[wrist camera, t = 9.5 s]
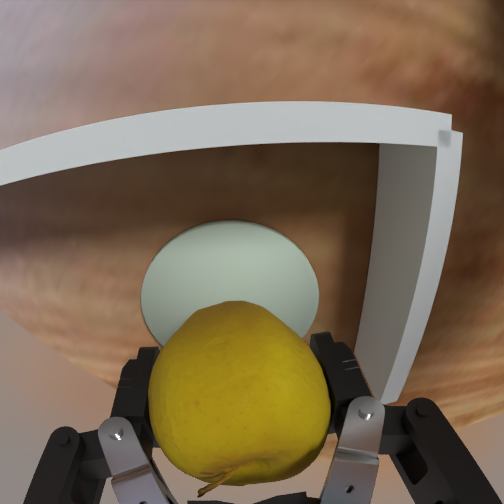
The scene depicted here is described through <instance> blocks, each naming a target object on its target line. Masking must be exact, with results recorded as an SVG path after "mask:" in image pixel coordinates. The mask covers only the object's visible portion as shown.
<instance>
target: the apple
mask: <svg viewBox="0 0 504 504" xmlns="http://www.w3.org/2000/svg"><path fill="white" fill-rule="evenodd" d="M148 400H149V415H150V423H151V427H152V430H153V433H154V436H155V439H156V441H157V443H158V444H159V446H160V448H161V449H162V451H163V453H164V454H165V456H166V457H167V458H168V460H169V461H170V462H171V463H172V464H173V465H174V466H176V467H177V468H178V469H179V470H181V471H183V472H184V473H185V474H188V475H190V476H192V477H195V478H197V479H199V480H202V481H204V482H208V483H212V484H208V485H207V486H205V487H204V488H201V489H200V490H199V491H198V493H199V495H198V497H201V496H203V495H204V494H205V493H206V492H208V491H210V490H212V489H214V488H215V487H217V486H219V485H231V486H244V485H247V484H256V483H266V482H275V481H280V480H285V479H288V478H291V477H293V476H295V475H297V474H299V473H301V472H302V471H303V470H304V469H306V468H307V467H308V466H310V464H311V463H312V462H313V461H314V460H315V459H316V458H317V456H318V455H319V453H320V451H321V449H322V448H323V446H324V443H325V441H326V438H327V435H328V430H329V425H330V416H331V401H330V398H329V394H328V388H327V384H326V380H325V377H324V375H323V371H322V368H321V366H320V364H319V363H318V361H317V359H316V357H315V356H314V354H313V352H312V351H311V349H310V347H309V346H308V345H307V344H306V343H305V341H304V340H303V339H302V338H301V337H300V336H299V335H298V334H296V333H295V332H294V331H293V330H292V329H291V328H290V327H288V326H287V325H286V324H285V323H284V322H283V321H281V320H280V319H279V318H277V317H276V316H275V315H274V314H272V313H271V312H270V311H268V310H267V309H265V308H264V307H262V306H260V305H257V304H254V303H250V302H247V301H225V302H222V303H219V304H216V305H212V306H209V307H206V308H202V309H199V310H197V311H196V312H194V313H193V314H192V315H191V316H190V317H189V318H188V319H187V320H186V321H185V322H184V323H183V324H182V326H181V327H180V328H179V329H178V330H177V331H176V332H175V333H174V334H173V335H172V336H171V338H170V339H169V340H168V341H167V343H166V344H165V346H164V347H163V349H162V350H161V352H160V353H159V355H158V357H157V359H156V361H155V363H154V366H153V369H152V372H151V376H150V381H149V388H148Z"/></svg>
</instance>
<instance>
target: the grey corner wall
mask: <svg viewBox="0 0 504 504" xmlns="http://www.w3.org/2000/svg"><path fill="white" fill-rule="evenodd" d="M451 123H452V115H451V114H446V113H440V112H433V111H427V110H420V109H412V108H404V107H396V106H386V105H375V104H362V103H345V102H317V101H278V102H250V103H232V104H219V105H208V106H198V107H188V108H180V109H172V110H165V111H158V112H151V113H145V114H139V115H133V116H127V117H122V118H117V119H112V120H107V121H102V122H97V123H93V124H88V125H84V126H80V127H76V128H71V129H68V130H64V131H60V132H56V133H52V134H49V135H45V136H42V137H38V138H35V139H32V140H28V141H25V142H22V143H19V144H16V145H13V146H10V147H7V148H4V149H1V150H0V185H4V184H7V183H11V182H15V181H19V180H22V179H26V178H30V177H34V176H38V175H43V174H47V173H51V172H56V171H60V170H65V169H69V168H74V167H79V166H84V165H89V164H95V163H100V162H106V161H111V160H117V159H123V158H130V157H136V156H143V155H150V154H157V153H165V152H173V151H181V150H190V149H200V148H211V147H222V146H235V145H250V144H268V143H294V142H366V143H380V145H379V168H378V184H377V198H376V209H375V220H374V230H373V239H372V247H371V255H370V263H369V270H368V277H367V283H366V290H365V296H364V302H363V308H362V314H361V319H360V324H359V330H358V335H357V340H356V345H355V349H354V354H355V356H356V358H357V360H358V362H359V365H360V367H361V369H362V371H363V373H364V375H365V378H366V380H367V382H368V384H369V386H370V389H371V391H372V393H373V395H374V397H375V398H376V399H378V400H379V401H380V402H381V403H382V404H388V403H391V402H395V401H397V400H398V398H399V395H400V393H401V391H402V389H403V386H404V384H405V381H406V379H407V376H408V374H409V371H410V369H411V366H412V364H413V361H414V359H415V356H416V353H417V350H418V348H419V345H420V342H421V339H422V336H423V333H424V330H425V327H426V324H427V321H428V318H429V315H430V312H431V308H432V305H433V302H434V298H435V295H436V291H437V287H438V284H439V280H440V276H441V272H442V268H443V264H444V260H445V255H446V251H447V246H448V241H449V237H450V232H451V226H452V221H453V215H454V209H455V203H456V196H457V189H458V181H459V173H460V163H461V152H462V139H463V133H461V132H457V131H453V130H451Z"/></svg>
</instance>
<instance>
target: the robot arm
mask: <svg viewBox="0 0 504 504" xmlns="http://www.w3.org/2000/svg"><path fill="white" fill-rule="evenodd" d="M310 349H311V351H312V352H313V354H314V356H315V357H316V359H317V361H318V363H319V364H320V366H321V368H322V371H323V375H324V377H325V380H326V384H327V388H328V394H329V398H330V401H331V416H330V425H329V430H328V434H331V433H336V434H337V438H338V442H337V445H336V448H335V452H334V455H333V458H332V462H331V465H330V468H329V471H328V475H327V477H326V481H325V483H324V486H323V489H322V491H321V494H320V497H319V498H312V497H307V496H306V492H299V493H293V494H286V495H279V496H275V497H272V498H269V499H266V500H263V501H260V502H257V503H254V504H370V502H371V498H372V494H373V490H374V486H375V481H376V477H377V472H378V467H379V458H378V454H389V456H390V457H391V460H392V461H393V463H394V465H395V467H396V469H397V471H398V472H399V474H400V476H401V478H402V480H403V482H404V484H405V485H406V487H407V489H408V491H409V493H410V495H411V497H412V498H413V500H414V502H415V504H502V502H501V500H500V499H499V497H498V495H497V494H496V493H495V491H494V489H493V488H492V486H491V484H490V483H489V481H488V480H487V478H486V477H485V475H484V474H483V472H482V470H481V469H480V467H479V466H478V465H477V463H476V461H475V460H474V458H473V457H472V455H471V454H470V452H469V451H468V449H467V448H466V446H465V445H464V444H463V442H462V441H461V439H460V438H459V437H458V435H457V433H456V432H455V430H454V429H453V428H452V426H451V425H450V423H449V422H448V420H447V419H446V418H445V416H444V415H443V413H442V412H441V411H440V409H439V408H438V406H437V405H436V404H435V403H434V402H433V401H431V400H430V399H427V398H416V399H413V400H411V401H410V402H409V403H408V405H407V406H387V405H384V404H382V403H381V402H380V401H379V400H378V399H376V398H374V397H373V396H372V395H371V393H370V390H369V388H368V386H367V384H366V382H365V379H364V377H363V375H362V373H361V370H360V368H359V367H358V364H357V362H356V361H355V357H354V355H353V353H352V351H351V349H350V348H349V347H348V346H346V345H345V344H344V343H343V342H338V343H334V341H333V338H332V336H331V334H330V332H323V333H316V334H311V339H310ZM159 353H160V350H159V348H158V347H140V349H139V352H138V356H137V359H130V360H129V361H128V362H127V363H126V365H125V366H124V367H123V369H122V372H121V376H120V380H119V384H118V388H117V391H116V396H115V399H114V404H113V408H112V412H111V416H110V418H109V419H107V420H105V421H104V422H103V423H102V424H101V425H100V427H99V429H97V430H94V431H89V432H84V433H78V432H77V431H76V430H75V429H73V428H71V427H65V426H64V427H60V428H58V429H56V430H55V431H54V432H53V433H52V434H51V436H50V438H49V440H48V443H47V445H46V447H45V449H44V452H43V454H42V456H41V459H40V461H39V464H38V466H37V469H36V471H35V474H34V476H33V479H32V482H31V484H30V486H29V489H28V492H27V494H26V497H25V500H24V503H23V504H99V502H100V499H101V496H102V492H103V488H104V485H105V482H106V478H108V477H113V479H112V480H111V484H112V487H113V490H114V492H115V495H116V497H117V500H118V502H119V504H178V503H177V501H176V500H175V498H174V497H173V495H172V494H171V492H170V490H169V488H168V487H167V485H166V483H165V481H164V479H163V478H162V476H161V474H160V472H159V470H158V468H157V466H156V464H155V462H154V460H153V458H152V448H153V447H156V448H157V447H158V448H160V446H159V444H158V443H157V441H156V439H155V436H154V433H153V430H152V427H151V423H150V415H149V400H148V388H149V381H150V376H151V372H152V369H153V366H154V363H155V361H156V359H157V357H158V355H159ZM188 504H233V503H227V502H222V501H188Z"/></svg>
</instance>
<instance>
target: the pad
mask: <svg viewBox="0 0 504 504" xmlns="http://www.w3.org/2000/svg"><path fill="white" fill-rule="evenodd" d="M225 301H247V302H250V303H254V304H257V305H260V306H262V307H264V308H265V309H267V310H268V311H270V312H271V313H272V314H274V315H275V316H276V317H277V318H279V319H280V320H281V321H283V322H284V323H285V324H286V325H287V326H288V327H290V328H291V329H292V330H293V331H294V332H295V333H296V334H298V335H299V336H300V337H301V338H303V337H304V336H305V335H306V333H307V331H308V330H309V328H310V327H311V325H312V323H313V321H314V319H315V316H316V312H317V309H318V302H319V289H318V283H317V279H316V276H315V273H314V271H313V269H312V267H311V265H310V263H309V261H308V259H307V257H306V256H305V255H304V253H303V252H302V251H301V249H300V248H299V247H298V246H297V245H296V244H295V243H294V242H293V241H292V240H290V239H289V238H288V237H286V236H285V235H283V234H282V233H280V232H278V231H276V230H274V229H273V228H270V227H267V226H265V225H262V224H259V223H254V222H250V221H243V220H219V221H212V222H207V223H203V224H200V225H196V226H194V227H192V228H189V229H187V230H185V231H183V232H181V233H180V234H178V235H176V236H175V237H173V238H172V239H171V240H170V241H168V242H167V243H166V244H165V245H164V246H163V247H162V248H161V249H160V250H159V251H158V253H157V254H156V255H155V257H154V258H153V260H152V261H151V263H150V266H149V268H148V270H147V272H146V275H145V278H144V281H143V285H142V291H141V307H142V311H143V316H144V318H145V321H146V324H147V326H148V328H149V329H150V331H151V333H152V334H153V335H154V337H155V338H156V339H157V341H158V342H159V343H160V344H161V345H162V346H163V347H164V346H165V344H166V343H167V341H168V340H169V339H170V338H171V336H172V335H173V334H174V333H175V332H176V331H177V330H178V329H179V328H180V327H181V326H182V324H183V323H184V322H185V321H186V320H187V319H188V318H189V317H190V316H191V315H192V314H193V313H194V312H196V311H197V310H199V309H202V308H206V307H209V306H212V305H216V304H219V303H222V302H225Z"/></svg>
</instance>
